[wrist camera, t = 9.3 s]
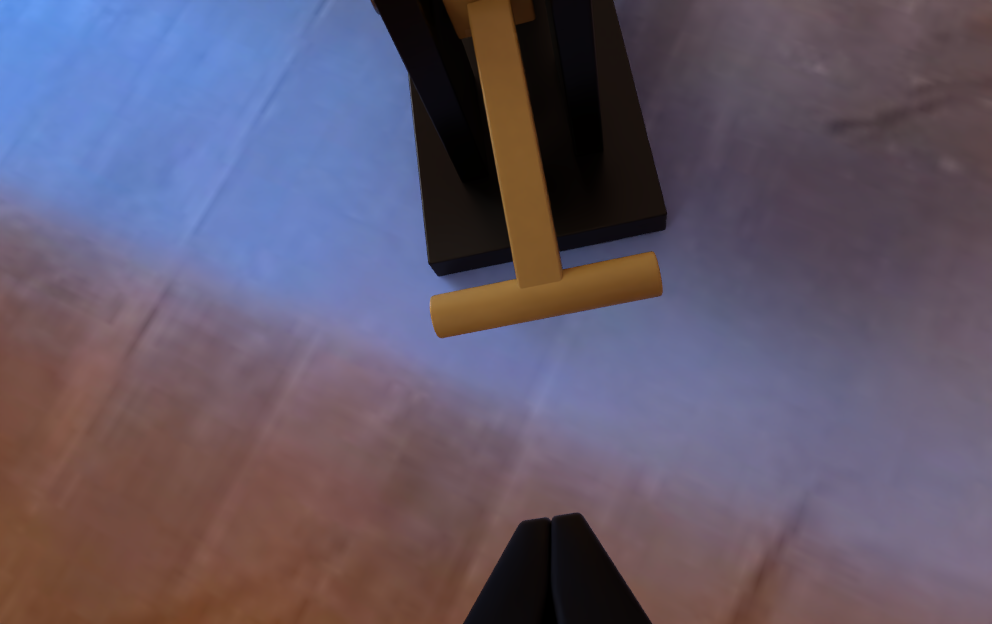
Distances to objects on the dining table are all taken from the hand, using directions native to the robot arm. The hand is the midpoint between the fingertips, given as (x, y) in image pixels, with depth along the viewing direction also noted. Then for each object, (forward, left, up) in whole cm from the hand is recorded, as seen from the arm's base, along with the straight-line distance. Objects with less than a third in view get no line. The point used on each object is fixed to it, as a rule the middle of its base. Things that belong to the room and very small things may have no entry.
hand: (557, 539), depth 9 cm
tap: (+9, -11, -11) cm, 18 cm away
